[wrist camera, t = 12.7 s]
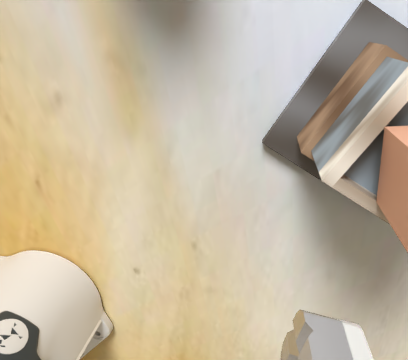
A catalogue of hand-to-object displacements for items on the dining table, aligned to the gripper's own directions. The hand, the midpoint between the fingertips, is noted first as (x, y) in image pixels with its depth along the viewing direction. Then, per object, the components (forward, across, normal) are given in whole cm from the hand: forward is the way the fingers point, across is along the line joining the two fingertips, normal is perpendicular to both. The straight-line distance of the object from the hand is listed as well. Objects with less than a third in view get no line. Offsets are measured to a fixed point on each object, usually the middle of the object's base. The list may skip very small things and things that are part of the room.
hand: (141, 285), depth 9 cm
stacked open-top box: (+26, -14, -2) cm, 29 cm away
